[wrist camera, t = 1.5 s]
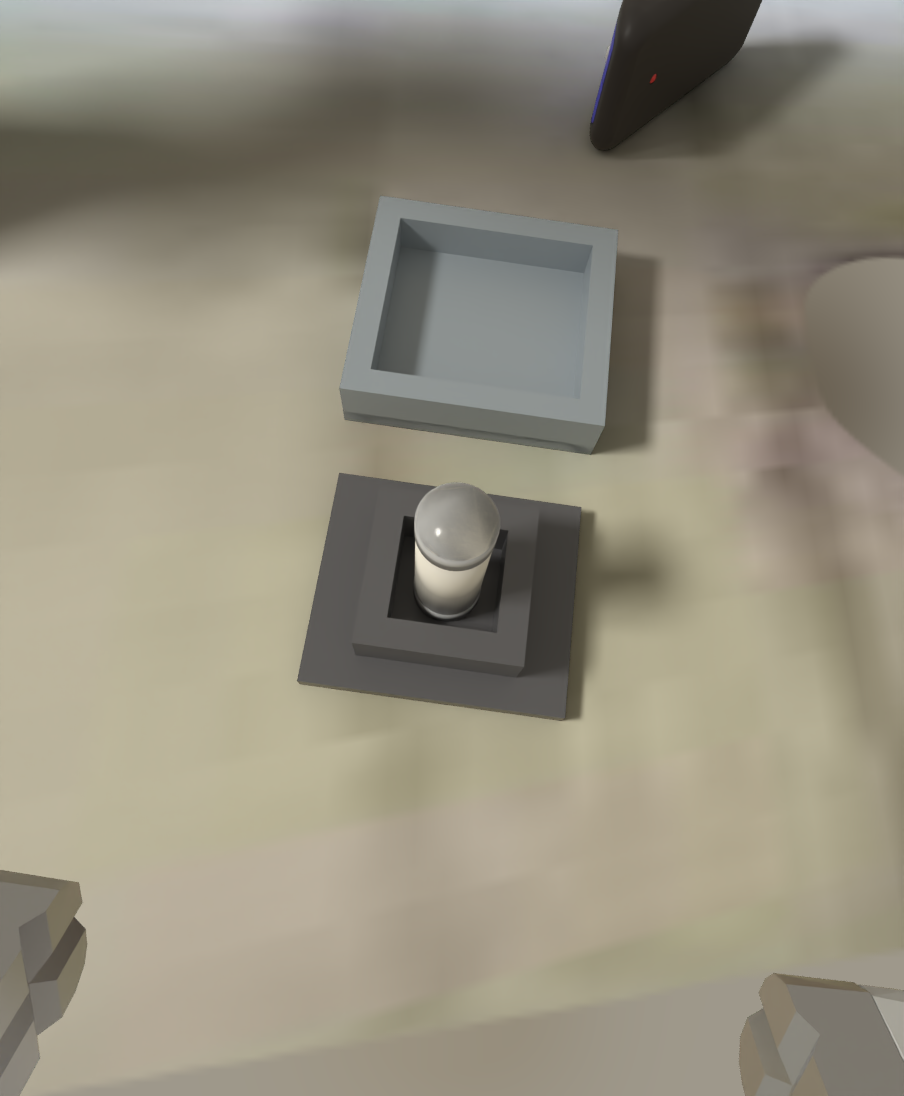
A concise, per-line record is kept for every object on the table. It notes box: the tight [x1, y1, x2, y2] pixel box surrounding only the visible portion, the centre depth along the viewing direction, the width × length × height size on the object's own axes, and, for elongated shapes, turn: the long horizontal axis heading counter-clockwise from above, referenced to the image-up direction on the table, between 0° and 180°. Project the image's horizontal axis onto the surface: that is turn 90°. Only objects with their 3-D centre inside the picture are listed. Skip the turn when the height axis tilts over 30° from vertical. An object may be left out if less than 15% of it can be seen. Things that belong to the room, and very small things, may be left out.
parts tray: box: [340, 196, 618, 454], centre depth 46 cm, size 15×14×4 cm
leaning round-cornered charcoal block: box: [590, 0, 762, 150], centre depth 51 cm, size 16×5×9 cm, turn 134°
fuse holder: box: [297, 473, 581, 721], centre depth 40 cm, size 14×12×4 cm
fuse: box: [414, 482, 500, 622], centre depth 36 cm, size 4×4×10 cm
